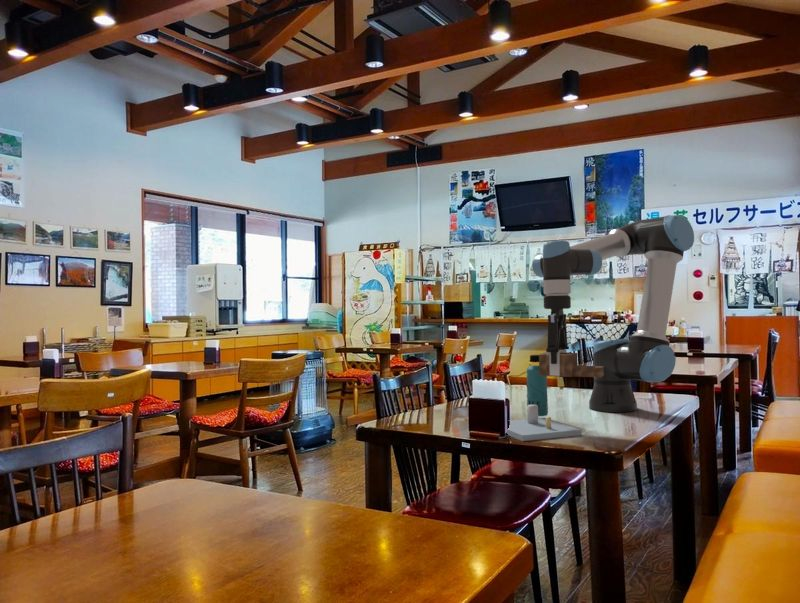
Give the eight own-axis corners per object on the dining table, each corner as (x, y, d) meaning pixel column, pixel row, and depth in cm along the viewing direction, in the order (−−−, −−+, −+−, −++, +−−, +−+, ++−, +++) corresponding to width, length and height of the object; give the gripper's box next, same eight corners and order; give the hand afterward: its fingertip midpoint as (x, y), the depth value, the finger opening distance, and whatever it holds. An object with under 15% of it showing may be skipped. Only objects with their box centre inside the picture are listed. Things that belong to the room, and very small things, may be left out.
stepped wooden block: (539, 375, 173) (539, 354, 173) (546, 372, 181) (546, 352, 181) (600, 378, 166) (599, 355, 166) (604, 374, 174) (604, 353, 174)
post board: (544, 422, 184) (543, 401, 184) (581, 435, 166) (580, 411, 166) (490, 427, 179) (489, 405, 179) (522, 441, 161) (521, 416, 161)
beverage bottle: (547, 417, 193) (545, 353, 193) (550, 421, 186) (548, 355, 186) (525, 417, 193) (524, 354, 193) (528, 421, 187) (526, 355, 187)
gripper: (551, 295, 187) (553, 369, 187) (534, 295, 167) (536, 377, 167) (577, 295, 184) (578, 370, 184) (562, 294, 164) (564, 378, 164)
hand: (558, 373), depth 175 cm, fingers closed on stepped wooden block, 9 cm apart
